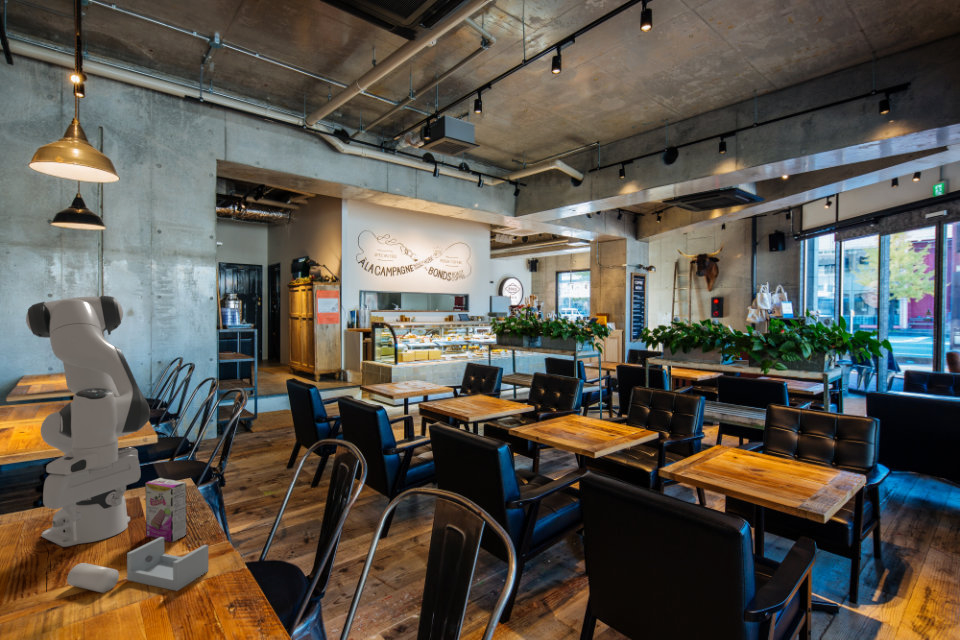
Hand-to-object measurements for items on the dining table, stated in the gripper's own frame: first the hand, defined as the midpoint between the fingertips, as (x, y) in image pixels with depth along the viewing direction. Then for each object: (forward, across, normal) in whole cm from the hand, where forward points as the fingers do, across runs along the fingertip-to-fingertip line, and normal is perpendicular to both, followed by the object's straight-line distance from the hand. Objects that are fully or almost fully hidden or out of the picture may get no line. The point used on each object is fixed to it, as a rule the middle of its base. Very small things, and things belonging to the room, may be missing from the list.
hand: (96, 512), depth 115 cm
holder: (+18, -8, +12) cm, 24 cm away
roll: (+18, 0, -1) cm, 18 cm away
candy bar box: (+18, -25, -8) cm, 32 cm away
